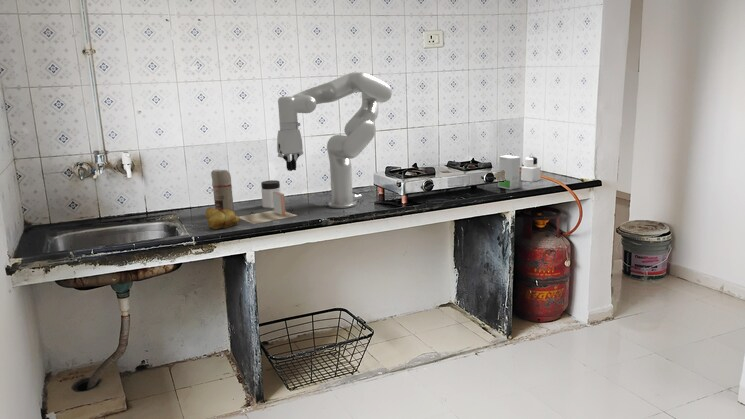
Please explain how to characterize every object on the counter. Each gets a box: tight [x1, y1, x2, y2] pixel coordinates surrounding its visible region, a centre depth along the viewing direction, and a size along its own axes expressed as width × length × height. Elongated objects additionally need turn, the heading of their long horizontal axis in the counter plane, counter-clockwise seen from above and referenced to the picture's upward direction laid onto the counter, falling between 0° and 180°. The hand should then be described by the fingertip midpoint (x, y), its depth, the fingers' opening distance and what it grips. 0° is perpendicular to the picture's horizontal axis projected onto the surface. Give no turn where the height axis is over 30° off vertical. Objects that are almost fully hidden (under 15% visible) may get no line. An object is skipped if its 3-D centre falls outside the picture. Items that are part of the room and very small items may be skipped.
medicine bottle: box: [520, 156, 541, 183], centre depth 319 cm, size 7×7×12 cm
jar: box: [260, 179, 281, 209], centre depth 277 cm, size 9×8×12 cm
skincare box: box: [497, 154, 521, 190], centre depth 302 cm, size 8×7×16 cm
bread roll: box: [205, 207, 240, 230], centre depth 248 cm, size 13×10×8 cm
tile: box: [273, 192, 286, 216], centre depth 260 cm, size 2×7×9 cm, turn 36°
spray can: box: [210, 168, 235, 213], centre depth 267 cm, size 8×8×20 cm
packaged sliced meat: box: [238, 209, 298, 225], centre depth 258 cm, size 20×16×1 cm
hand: (291, 170), depth 261 cm, fingers closed
